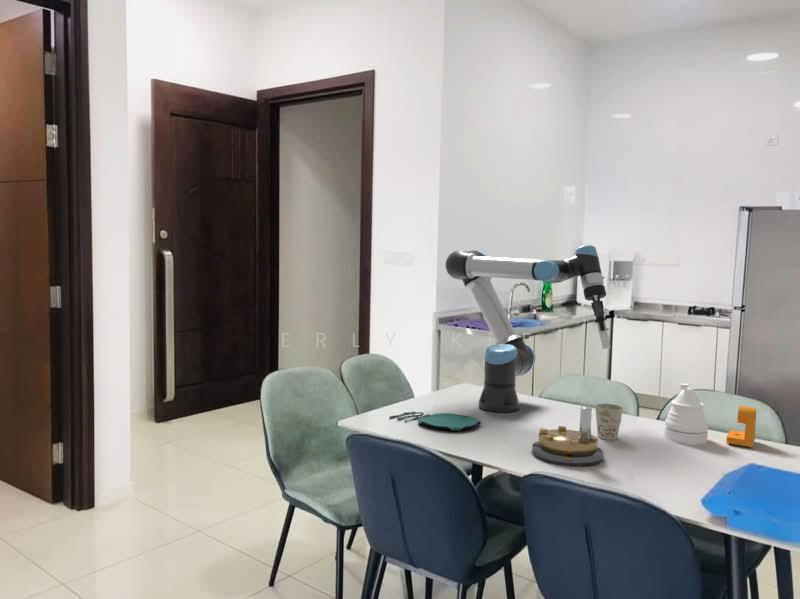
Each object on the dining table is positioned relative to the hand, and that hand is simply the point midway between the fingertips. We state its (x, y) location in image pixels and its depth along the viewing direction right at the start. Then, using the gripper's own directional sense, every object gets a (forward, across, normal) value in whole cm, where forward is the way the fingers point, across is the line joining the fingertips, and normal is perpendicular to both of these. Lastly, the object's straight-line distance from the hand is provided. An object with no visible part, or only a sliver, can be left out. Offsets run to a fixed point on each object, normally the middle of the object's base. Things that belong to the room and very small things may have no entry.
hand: (605, 344), depth 233 cm
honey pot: (+36, -2, -18) cm, 40 cm away
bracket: (+39, +1, -34) cm, 52 cm away
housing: (+37, -36, +17) cm, 55 cm away
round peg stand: (+35, -37, +16) cm, 53 cm away
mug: (+32, -9, +5) cm, 33 cm away
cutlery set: (+20, -18, +60) cm, 65 cm away
